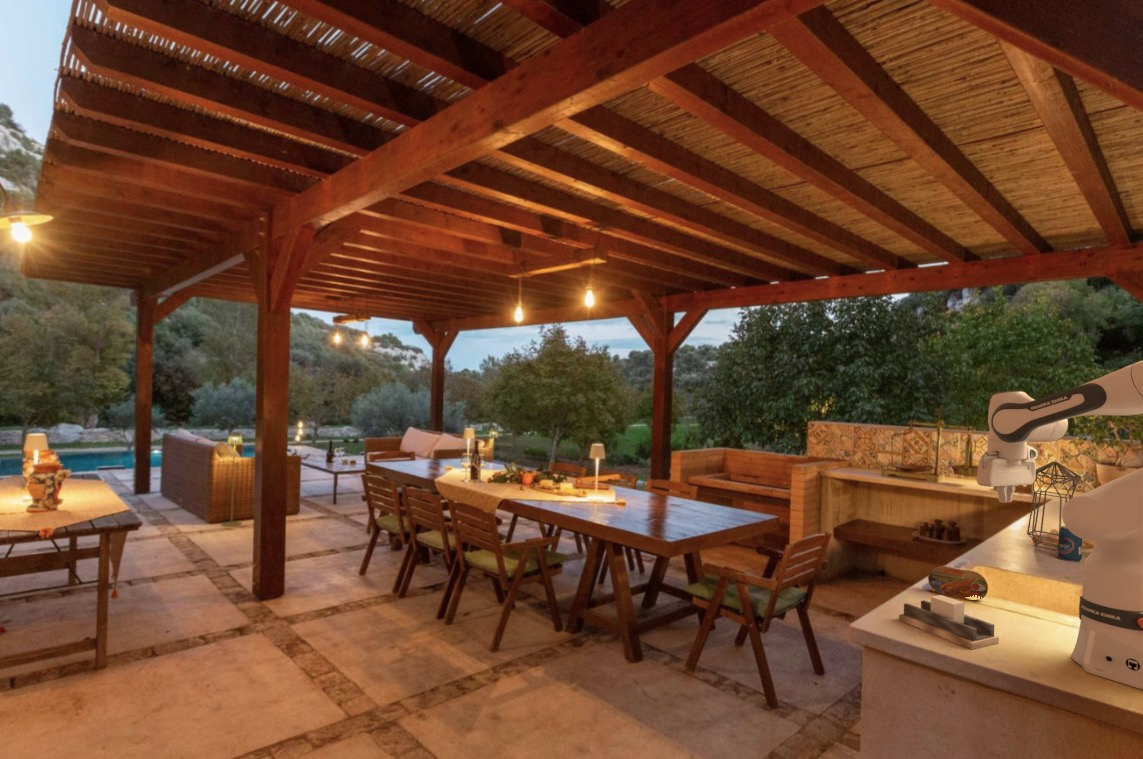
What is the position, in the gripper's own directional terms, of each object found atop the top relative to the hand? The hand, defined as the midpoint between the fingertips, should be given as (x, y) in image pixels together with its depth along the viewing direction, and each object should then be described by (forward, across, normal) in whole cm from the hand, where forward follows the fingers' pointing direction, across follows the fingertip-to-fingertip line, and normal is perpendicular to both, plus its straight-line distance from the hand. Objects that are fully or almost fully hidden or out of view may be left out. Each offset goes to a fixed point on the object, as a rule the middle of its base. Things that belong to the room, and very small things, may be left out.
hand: (1005, 502), depth 167 cm
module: (+29, -24, -1) cm, 38 cm away
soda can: (+31, +92, +29) cm, 101 cm away
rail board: (+31, -24, -1) cm, 40 cm away
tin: (+31, +6, +16) cm, 36 cm away
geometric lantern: (+31, +107, +43) cm, 120 cm away
